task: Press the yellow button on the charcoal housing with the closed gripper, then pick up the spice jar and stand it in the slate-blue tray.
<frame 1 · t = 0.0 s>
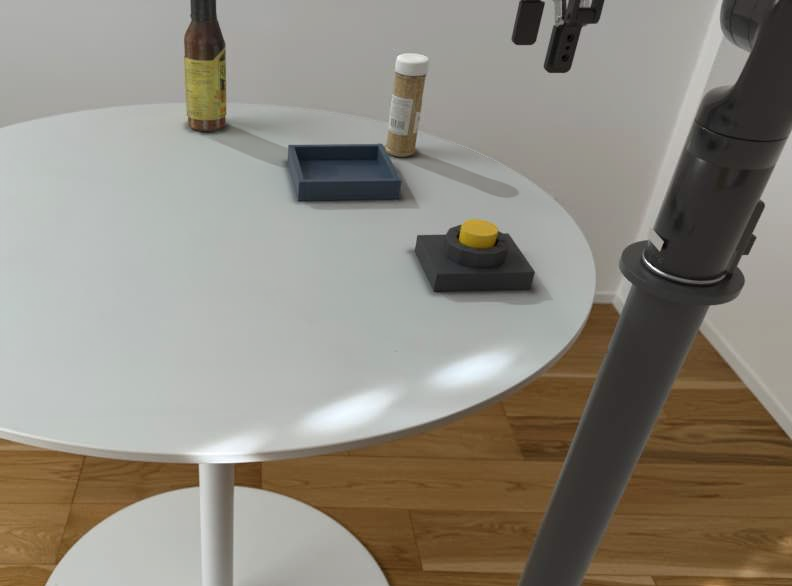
hand: (538, 57, 72), 24 cm above the table, tool pointing down, fingers open, 8 cm apart
trigger button: (478, 234, 87), point 4 cm above the table, slide at 0.1 cm
sauce bottle: (206, 126, 124), on the table
tray: (341, 179, 109), on the table
button housing: (470, 269, 90), on the table
spice jar: (399, 153, 117), on the table
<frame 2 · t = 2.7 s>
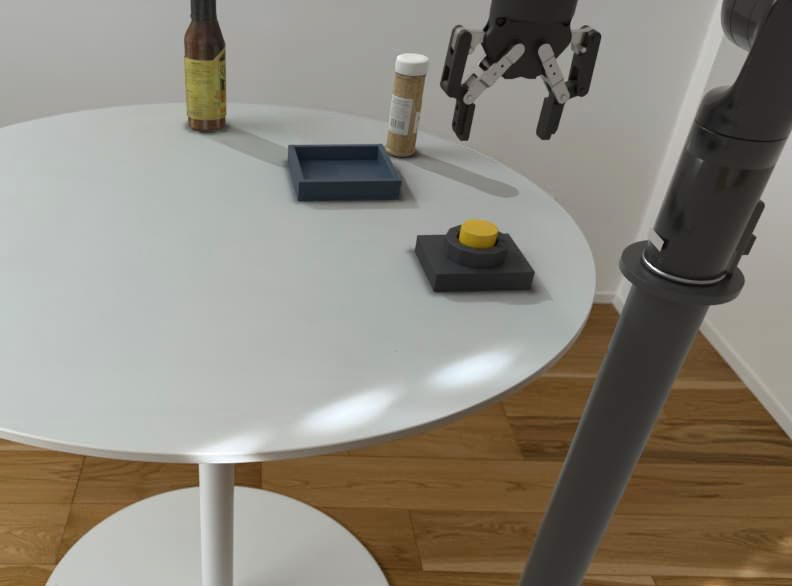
hand: (502, 137, 80), 16 cm above the table, tool pointing down, fingers open, 8 cm apart
nothing on the table moved.
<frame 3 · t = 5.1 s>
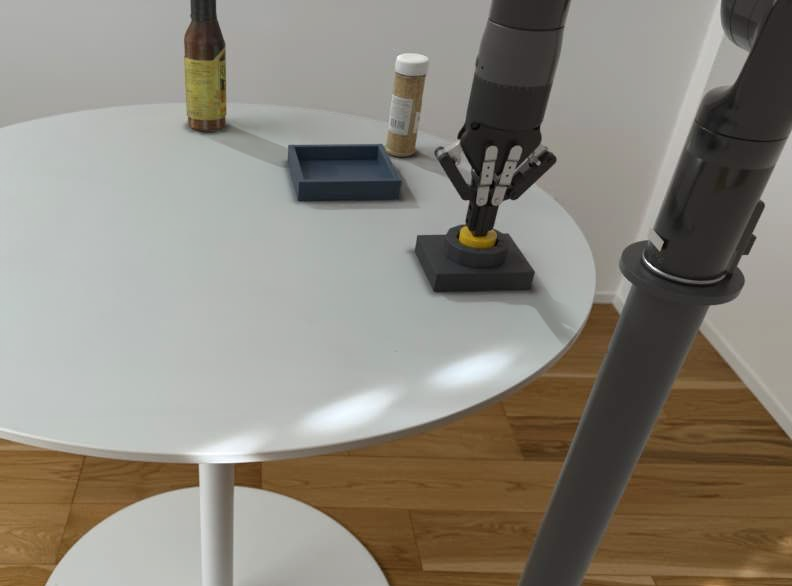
hand: (477, 232, 87), 5 cm above the table, tool pointing down, fingers closed
trigger button: (477, 240, 88), point 4 cm above the table, slide at -0.6 cm, touching gripper
everything else where it was.
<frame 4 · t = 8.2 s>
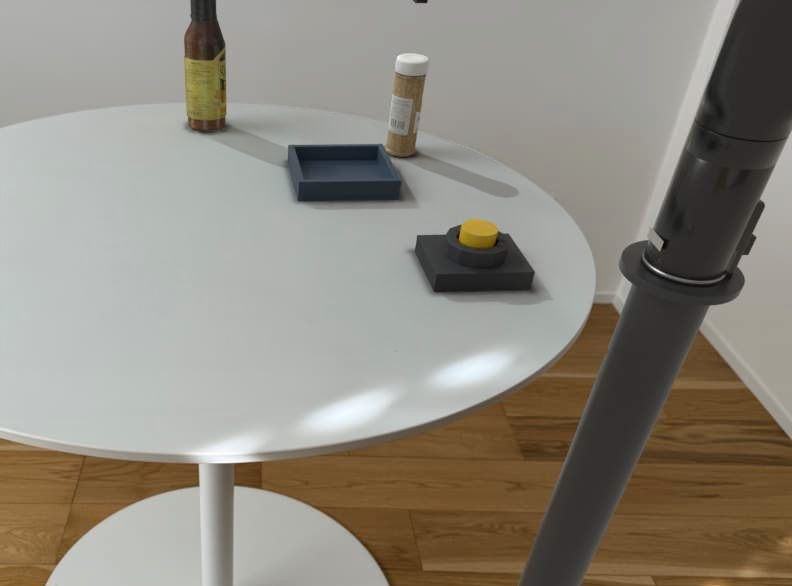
hand: (419, 1, 101), 21 cm above the table, tool pointing down, fingers closed
trigger button: (478, 234, 87), point 4 cm above the table, slide at 0.1 cm
everything else where it was.
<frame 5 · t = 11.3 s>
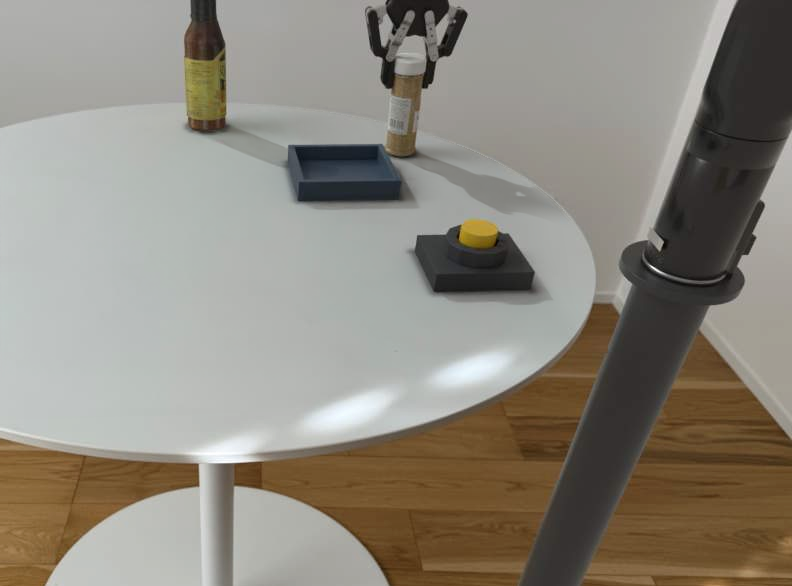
hand: (405, 86, 111), 9 cm above the table, tool pointing down, fingers closed on spice jar, 4 cm apart
spice jar: (399, 152, 117), on the table, touching gripper
everything else where it was.
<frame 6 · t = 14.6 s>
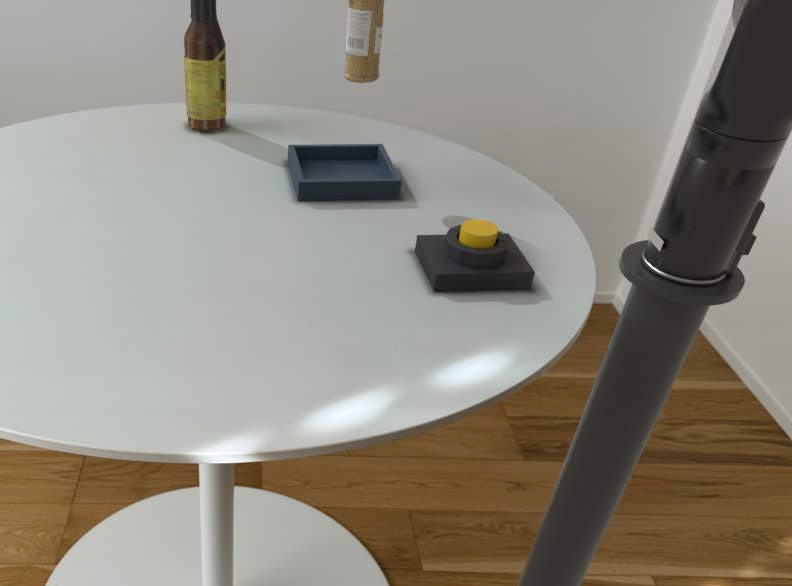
spice jar: (360, 79, 101), point 13 cm above the table, touching gripper
everything else where it was.
when the fingers open (10 cm above the table, at t = 17.9 s): spice jar stays where it is, resting on tray.
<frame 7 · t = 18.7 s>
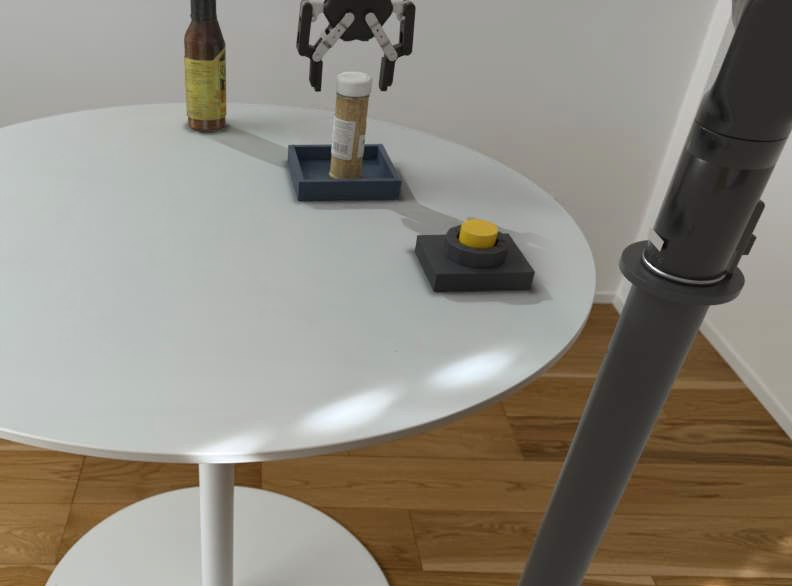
hand: (350, 89, 101), 12 cm above the table, tool pointing down, fingers open, 8 cm apart
spice jar: (344, 178, 108), resting on tray
everything else where it was.
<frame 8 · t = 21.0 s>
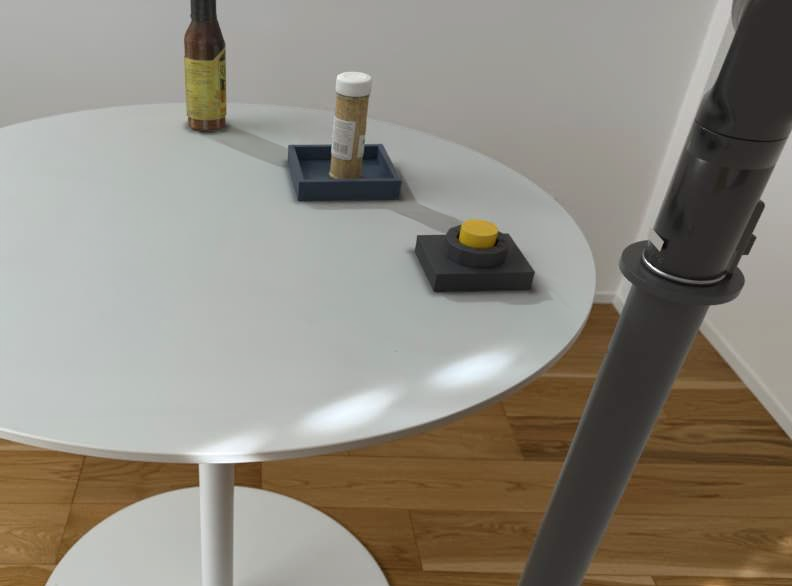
nothing on the table moved.
at the end: trigger button pushed in 1.2 cm at the most during the clip, back to where it started at the end; spice jar inside the target area in the tray (0.6 cm from its centre), point 0.4 cm above the tray's base; spice jar tilted 0° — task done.
